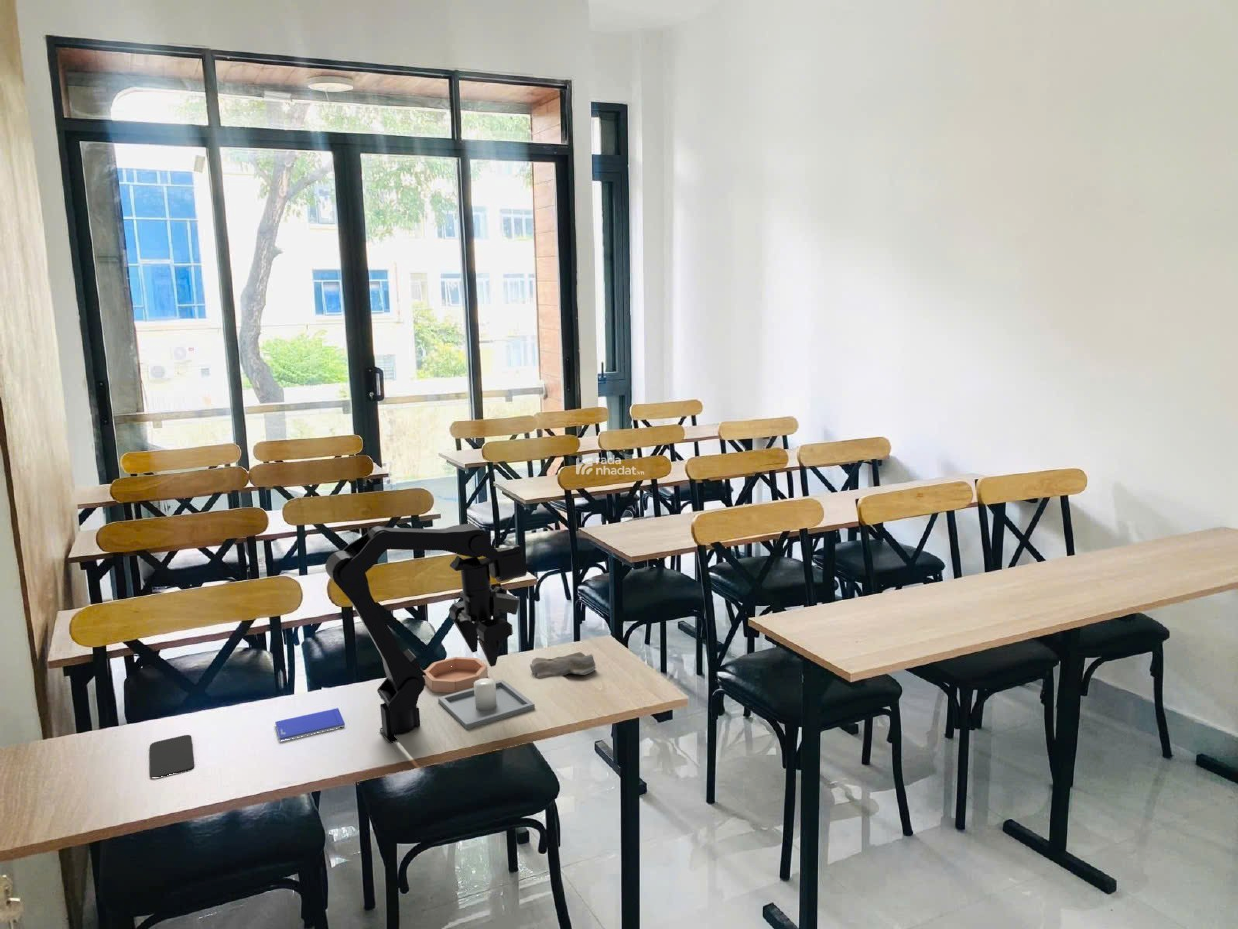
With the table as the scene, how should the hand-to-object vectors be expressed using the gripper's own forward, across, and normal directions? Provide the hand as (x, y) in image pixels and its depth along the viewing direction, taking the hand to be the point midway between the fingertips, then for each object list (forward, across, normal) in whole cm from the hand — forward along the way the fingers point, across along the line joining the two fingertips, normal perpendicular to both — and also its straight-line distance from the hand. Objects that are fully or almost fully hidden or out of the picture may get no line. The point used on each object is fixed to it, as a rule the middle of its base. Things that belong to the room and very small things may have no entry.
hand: (483, 658), depth 179 cm
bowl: (+11, +16, 0) cm, 19 cm away
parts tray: (+11, 0, 0) cm, 11 cm away
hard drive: (+11, +15, +33) cm, 37 cm away
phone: (+10, +18, +58) cm, 61 cm away
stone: (+12, +7, -22) cm, 26 cm away
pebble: (+10, 0, 0) cm, 10 cm away
